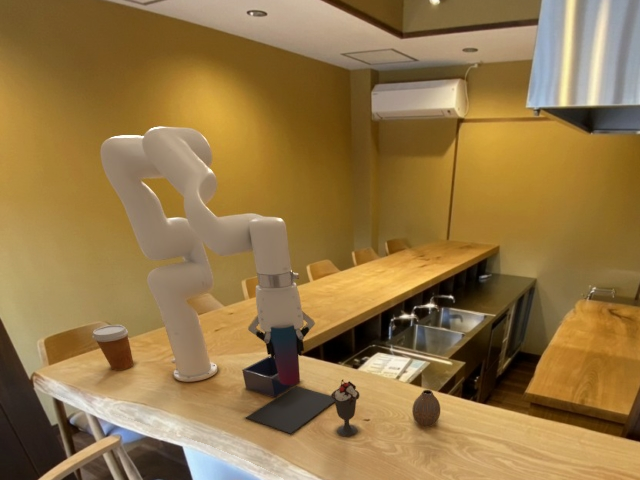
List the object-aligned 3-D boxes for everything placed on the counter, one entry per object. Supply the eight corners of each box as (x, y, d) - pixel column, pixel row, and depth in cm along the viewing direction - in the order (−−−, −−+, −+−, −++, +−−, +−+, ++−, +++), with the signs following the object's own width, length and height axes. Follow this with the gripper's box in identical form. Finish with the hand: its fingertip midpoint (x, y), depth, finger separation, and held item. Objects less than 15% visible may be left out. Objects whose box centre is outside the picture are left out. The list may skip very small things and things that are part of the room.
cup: (297, 387, 104) (289, 329, 95) (271, 385, 105) (261, 327, 97) (307, 375, 109) (300, 319, 101) (282, 373, 110) (274, 317, 102)
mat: (245, 418, 108) (245, 417, 107) (296, 387, 122) (296, 385, 122) (291, 434, 101) (290, 433, 101) (338, 399, 116) (338, 398, 116)
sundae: (340, 441, 99) (335, 385, 90) (329, 428, 104) (324, 372, 95) (365, 434, 101) (363, 378, 93) (354, 421, 106) (351, 367, 98)
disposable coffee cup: (120, 374, 129) (106, 337, 123) (98, 369, 132) (83, 332, 126) (146, 362, 137) (133, 326, 130) (124, 358, 140) (111, 322, 133)
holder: (245, 388, 121) (241, 369, 118) (272, 374, 129) (269, 356, 126) (274, 397, 117) (271, 378, 113) (300, 382, 125) (297, 363, 121)
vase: (442, 418, 108) (444, 387, 103) (435, 432, 102) (438, 400, 97) (416, 413, 109) (417, 383, 105) (408, 427, 104) (409, 396, 99)
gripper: (312, 273, 98) (319, 346, 108) (235, 278, 94) (250, 353, 104) (316, 281, 92) (323, 357, 102) (234, 286, 88) (250, 365, 98)
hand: (286, 354), depth 103 cm, fingers closed on cup, 6 cm apart
